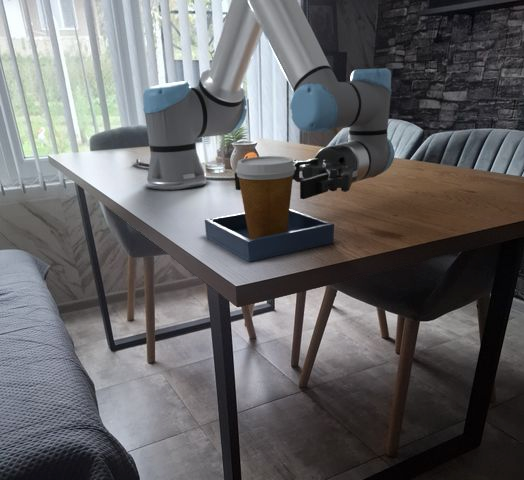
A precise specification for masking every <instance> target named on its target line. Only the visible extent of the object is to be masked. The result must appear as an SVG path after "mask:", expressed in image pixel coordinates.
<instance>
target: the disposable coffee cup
mask: <svg viewBox="0 0 524 480" xmlns="http://www.w3.org/2000/svg"><path fill="white" fill-rule="evenodd" d="M293 161H294V159H293V158H292V157H289V156H283V155H282V156H281V155H279V156H277V155H263V156H262V155H261V156H253V157H252V156H251V157H245V158H241V159H239V160H237V166H236V168H235V169H234V173H237V177H239V183H240V188H241V190H240V194H241V199H242V204H243V210H244V213H245V217H246V222H247V228H248V233H249V238H250V239H256V238H261V237H265V236H270V235H275V234H280V233H285V232H287V227H288V218H289V209H291V208H290V207H291V198H292V191H293V190H292V188H293V175H294V171H295V170H296V167H295V166H294V162H293Z"/></svg>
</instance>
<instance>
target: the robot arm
mask: <svg viewBox="0 0 524 480" xmlns="http://www.w3.org/2000/svg"><path fill="white" fill-rule="evenodd" d="M262 35H264V36H265V39H266V40H267V42H268V45H269V46H270V49H271V51H272V53H273V55H274V56H275V58H276V60H277V63H278V64H279V66H280V67H279V68H280V69H281V71H282V73H283V75H284V76H285V78H286V80H287V82H288V85H289V86H290V89H291V90H292V92H293V93H292V96H291V98H290V104H289V109H290V111H291V116H290V117H291V120H292V122H293V124H294V125H295V127H296V128H297V129H299V130H300V131H302V132H303V133H326V132H328V131H332V130H339V129H347V128H348V131H347V132H348V133H347V134H348V141H345V142H340V143H337V144H333V145H328V146H325V147H323V148H321V149H320V150H319V151H318V152H317V153H316V155H315V157H314V158H309V159H306V160H300V159H293V162H294V166H295V167H296V170H295V171H294V175H293V180H294V181H295V182H296V183H299V199H300V200H306V199H309V198H312V197H315V196H318V195H321V194H325V193H327V192H329V191H330V192H335V191H336V192H337V191H338V189H340V191H341V192H343V193H346V192H349V191H350V190H351V189H350V188H351V186H352V184H354V183H358V182H361V181H363V180H366V179H370V178H371V179H372V178H375V177H377V176H378V175H381V174H383V173H385V172H386V171H387V170H389V169H390V167H391V166H392V164H393V162H394V159H395V148H394V144H393V143H392V141H391V140H390V139H389V138H388V134H389V133H388V128H389V119H390V107H391V96H392V72H391V70H390V69H389V68H385V67H384V68H362V69H354V70H353V71H352V72H351V74H350V80H349V81H338V79H337V77H336V75H335V73H334V71H333V69H332V67H331V65H330V63H329V61H328V59H327V57H326V55H325V53H324V51H323V49H322V47H321V45H320V43H319V41H318V38H317V37H316V34H315V32H314V31H313V28H312V27H311V25H310V23H309V21H308V19H307V17H306V15H305V13H304V10H303V9H302V6H301V5H300V2H299V1H298V0H231V2H230V4H229V8H228V10H227V13H226V17H225V21H224V24H223V26H222V30H221V32H220V37H219V39H218V41H217V44H216V48H215V51H214V54H213V58H212V60H211V64H210V66H209V69H205V70H203V72H202V73H201V74H200V77H199V81H198V83H197V85H196V86H191V85H190V82H189V81H186V80H185V81H174V82H170V83H163V84H158V85H154V86H150V87H148V88H146V89H145V90H144V91H143V94H142V103H143V109H142V110H143V113H144V117H145V125H146V131H147V139H148V144H149V151H150V158H149V163H145V162H140V158H136V164H137V166H140V167H145V168H148V170H147V176H146V177H147V178H146V181H147V187H148V188H150V189H152V190H153V189H154V190H161V191H162V190H163V191H174V190H185V189H192V188H197V187H201V186H203V185H205V184H207V174H206V172H205V169H204V167H203V165H202V162H201V159H200V157H199V154H198V152H197V145H196V143H197V142H196V139H200V138H209V137H217V136H226V135H227V136H228V135H229V134H233V133H235V132H237V131H238V130H239V129H241V127H242V126H243V125H244V122H245V120H246V117H247V109H246V106H247V98H246V96H245V95H246V94H245V93H246V92H245V89H244V87H243V84H244V80H245V78H246V76H247V73H248V71H249V69H250V65H251V63H252V60H253V58H254V55H255V52H256V50H257V48H258V45H259V42H260V41H261V37H262ZM300 172H301V173H300ZM300 174H301V177H300ZM234 184H235V190H236V191H241V188H240V183H239V177H237V173H236V172H234Z"/></svg>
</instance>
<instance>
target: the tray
mask: <svg viewBox="0 0 524 480" xmlns="http://www.w3.org/2000/svg"><path fill="white" fill-rule="evenodd" d="M204 227H205V236H206V239H207V240H210V241H211V242H213V243H215V244H217V245H219V246H220V247H222V248H224V249H225V250H227V251H229V252H231V253H232V254H234V255H236V256H238V257H240V258H241V259H242V260H244V261H246V262H249V263H251V262H256V261H260V260H264V259H269V258H273V257H277V256H281V255H287V254H290V253H295V252H299V251H303V250H308V249H312V248H317V247H321V246H327V245H330V244H334V242H335V241H334V238H335V237H334V236H335V223H332V222H330V221H326V220H323V219H321V218H319V217H315V216H312V215H309V214H306V213H304V212H300V211H298V210H295V209H292V208H290V209H289V218H288V227H287V232H285V233H280V234H275V235H270V236H265V237H261V238H256V239H250V238H249V233H248V228H247V222H246V217H245V212H241V213H236V214H235V213H234V214H230V215H225V216H219V217H213V218H207V219H205V220H204Z"/></svg>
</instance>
